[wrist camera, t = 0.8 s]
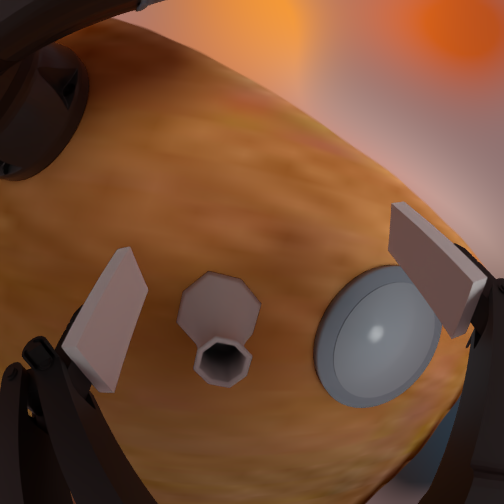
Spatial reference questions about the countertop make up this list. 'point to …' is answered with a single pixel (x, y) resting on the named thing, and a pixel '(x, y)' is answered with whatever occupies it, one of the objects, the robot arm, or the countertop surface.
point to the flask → (219, 326)
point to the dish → (375, 338)
